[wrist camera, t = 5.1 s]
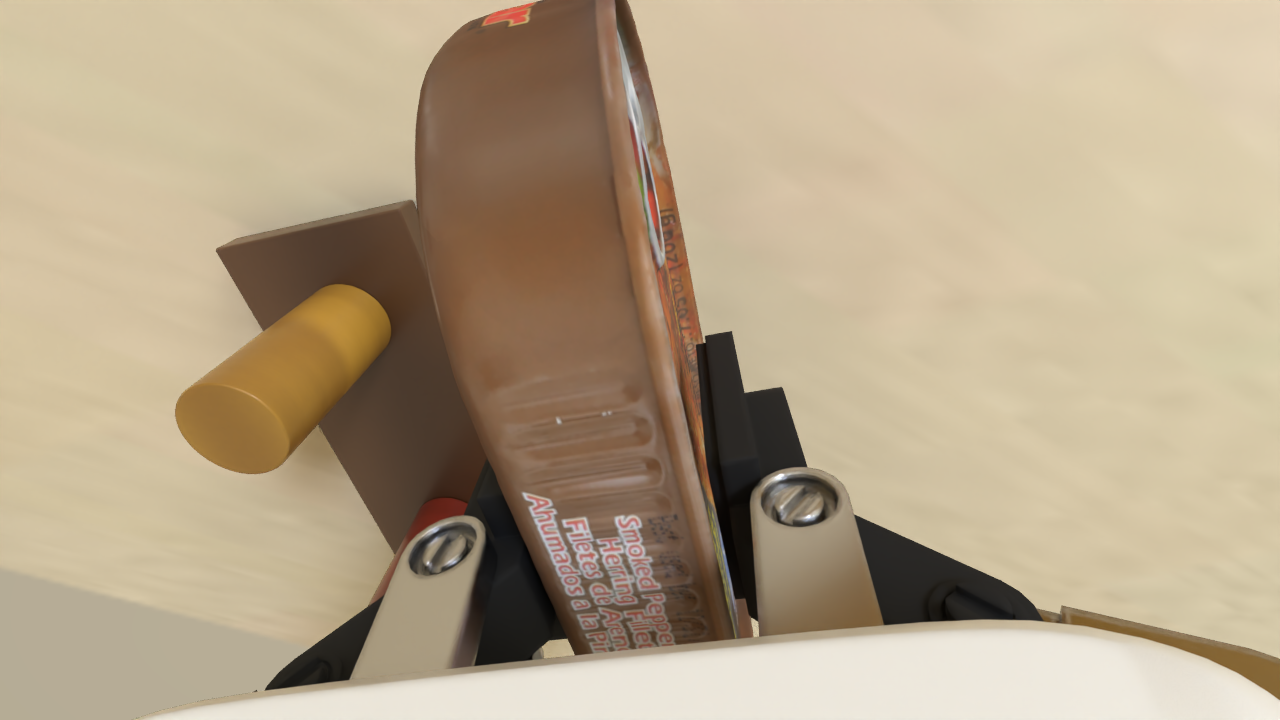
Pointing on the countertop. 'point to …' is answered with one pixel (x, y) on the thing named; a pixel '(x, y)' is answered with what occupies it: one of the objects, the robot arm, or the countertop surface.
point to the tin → (575, 317)
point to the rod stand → (343, 370)
